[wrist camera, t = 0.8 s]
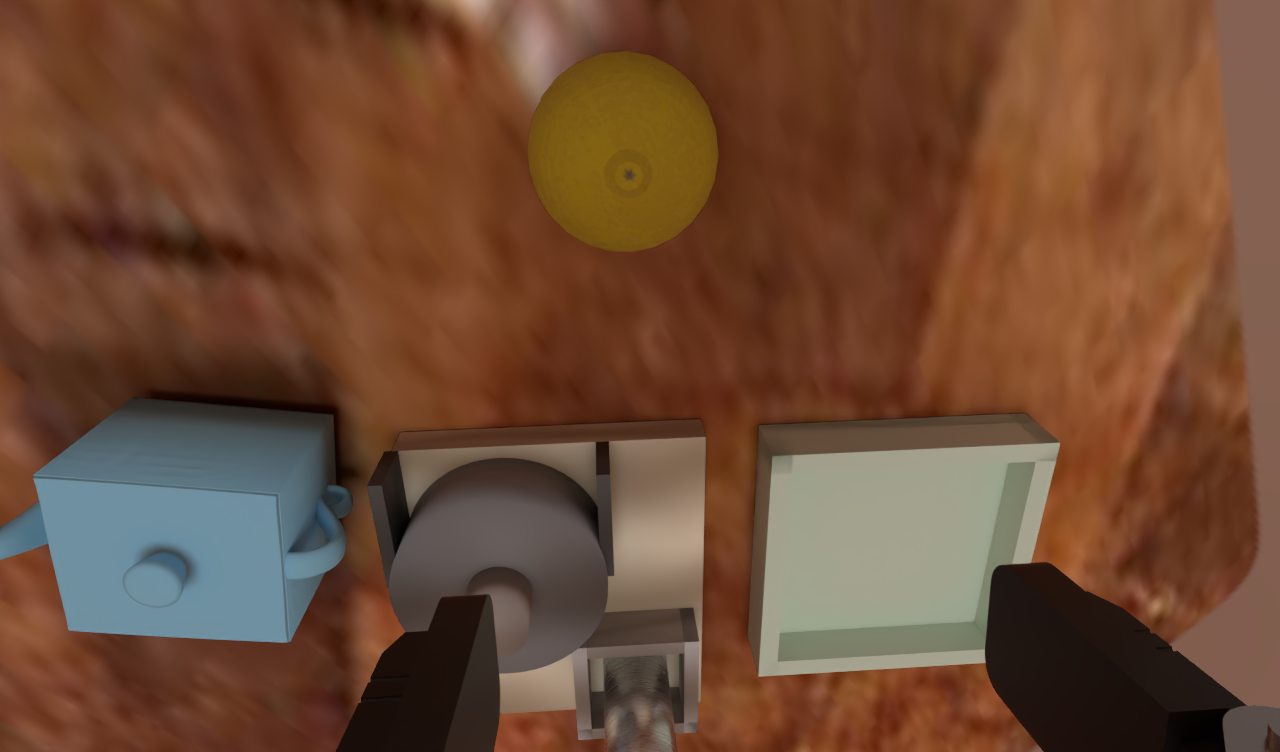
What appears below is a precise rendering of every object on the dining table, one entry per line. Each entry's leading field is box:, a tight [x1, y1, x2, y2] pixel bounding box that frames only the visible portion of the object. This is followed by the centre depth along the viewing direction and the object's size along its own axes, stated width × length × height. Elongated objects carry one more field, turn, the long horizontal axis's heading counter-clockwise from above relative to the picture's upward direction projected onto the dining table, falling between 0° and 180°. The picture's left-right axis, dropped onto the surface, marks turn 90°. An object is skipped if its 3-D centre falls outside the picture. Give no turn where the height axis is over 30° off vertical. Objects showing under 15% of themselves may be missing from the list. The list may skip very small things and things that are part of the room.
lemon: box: [527, 51, 719, 252], centre depth 22 cm, size 6×6×8 cm
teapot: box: [0, 397, 353, 642], centre depth 26 cm, size 12×6×8 cm, turn 82°
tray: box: [748, 413, 1060, 677], centre depth 32 cm, size 11×11×2 cm
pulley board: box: [367, 419, 706, 740], centre depth 30 cm, size 14×12×6 cm
